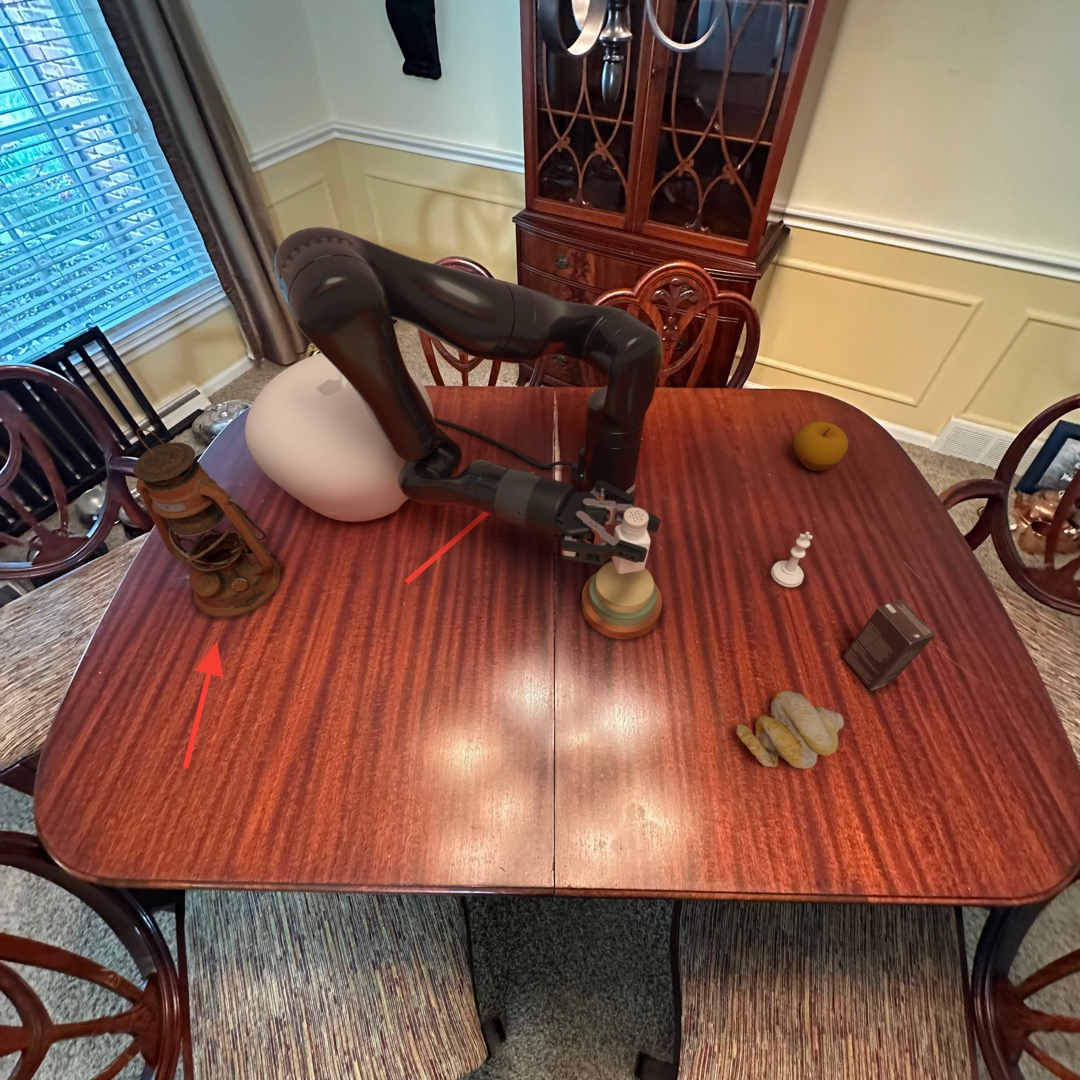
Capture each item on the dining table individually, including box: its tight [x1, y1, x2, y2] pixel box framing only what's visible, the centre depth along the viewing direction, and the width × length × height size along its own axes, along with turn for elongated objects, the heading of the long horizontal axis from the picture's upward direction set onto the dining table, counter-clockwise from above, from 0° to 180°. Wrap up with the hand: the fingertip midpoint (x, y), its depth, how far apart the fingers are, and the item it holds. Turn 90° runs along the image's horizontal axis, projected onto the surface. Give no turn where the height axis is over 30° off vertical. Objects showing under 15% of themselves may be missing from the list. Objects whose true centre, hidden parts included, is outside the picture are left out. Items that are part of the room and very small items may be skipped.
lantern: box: [132, 427, 281, 619], centre depth 83 cm, size 17×13×30 cm
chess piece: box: [770, 531, 813, 588], centre depth 92 cm, size 5×5×10 cm
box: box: [842, 599, 937, 691], centre depth 80 cm, size 6×4×12 cm
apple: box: [792, 420, 849, 472], centre depth 109 cm, size 9×9×9 cm
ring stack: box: [580, 560, 663, 640], centre depth 89 cm, size 12×12×6 cm
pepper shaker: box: [611, 506, 651, 574], centre depth 80 cm, size 4×4×10 cm
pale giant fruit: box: [244, 352, 435, 523], centre depth 98 cm, size 28×27×25 cm
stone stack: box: [736, 690, 845, 770], centre depth 76 cm, size 10×6×15 cm
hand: (651, 540), depth 78 cm, fingers closed on pepper shaker, 5 cm apart
